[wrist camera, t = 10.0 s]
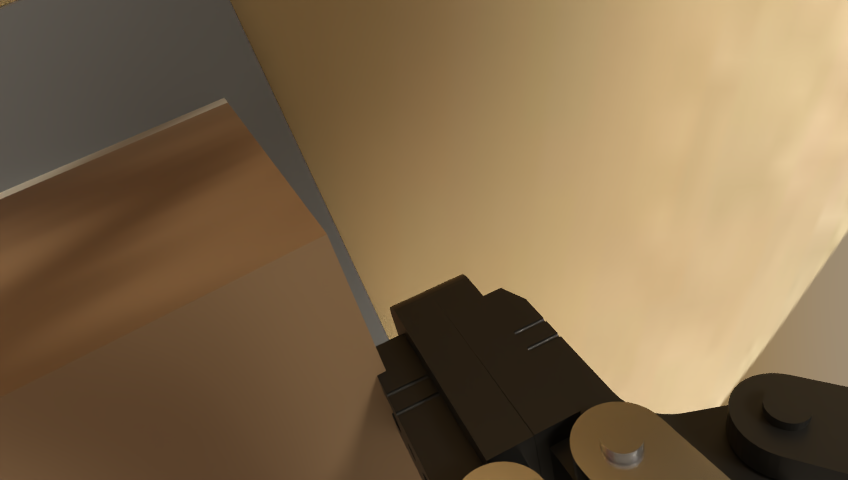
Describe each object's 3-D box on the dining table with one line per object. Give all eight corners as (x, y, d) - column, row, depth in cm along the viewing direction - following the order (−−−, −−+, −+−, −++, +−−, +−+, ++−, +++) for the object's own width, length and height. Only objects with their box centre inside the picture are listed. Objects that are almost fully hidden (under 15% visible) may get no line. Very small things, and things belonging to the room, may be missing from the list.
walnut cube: (223, 97, 14) (326, 233, 8) (331, 321, 18) (447, 513, 12) (-116, 241, 12) (-274, 534, 6) (87, 452, 16) (96, 742, 11)
